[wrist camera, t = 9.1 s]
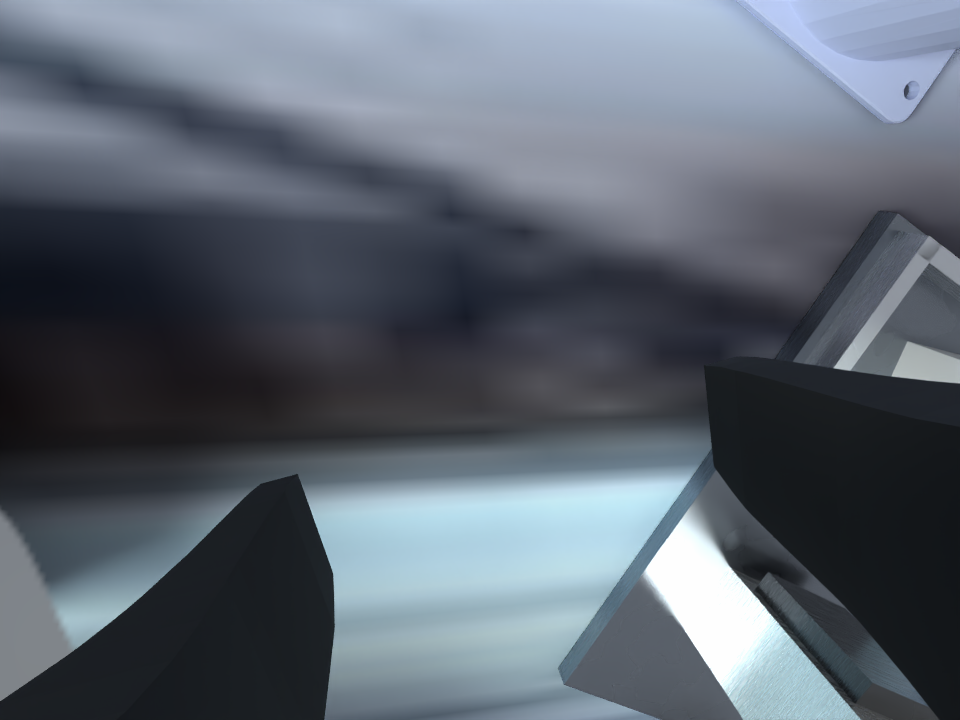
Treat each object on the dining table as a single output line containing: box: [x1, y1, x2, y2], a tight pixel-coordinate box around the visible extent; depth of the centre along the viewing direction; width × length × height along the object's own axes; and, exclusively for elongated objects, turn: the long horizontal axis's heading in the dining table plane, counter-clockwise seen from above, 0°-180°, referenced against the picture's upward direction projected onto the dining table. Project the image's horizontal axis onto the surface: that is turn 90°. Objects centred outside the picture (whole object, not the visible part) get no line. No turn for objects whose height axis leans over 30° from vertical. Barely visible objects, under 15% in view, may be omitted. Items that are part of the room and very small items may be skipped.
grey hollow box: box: [558, 211, 960, 720], centre depth 21 cm, size 20×11×8 cm, turn 149°
